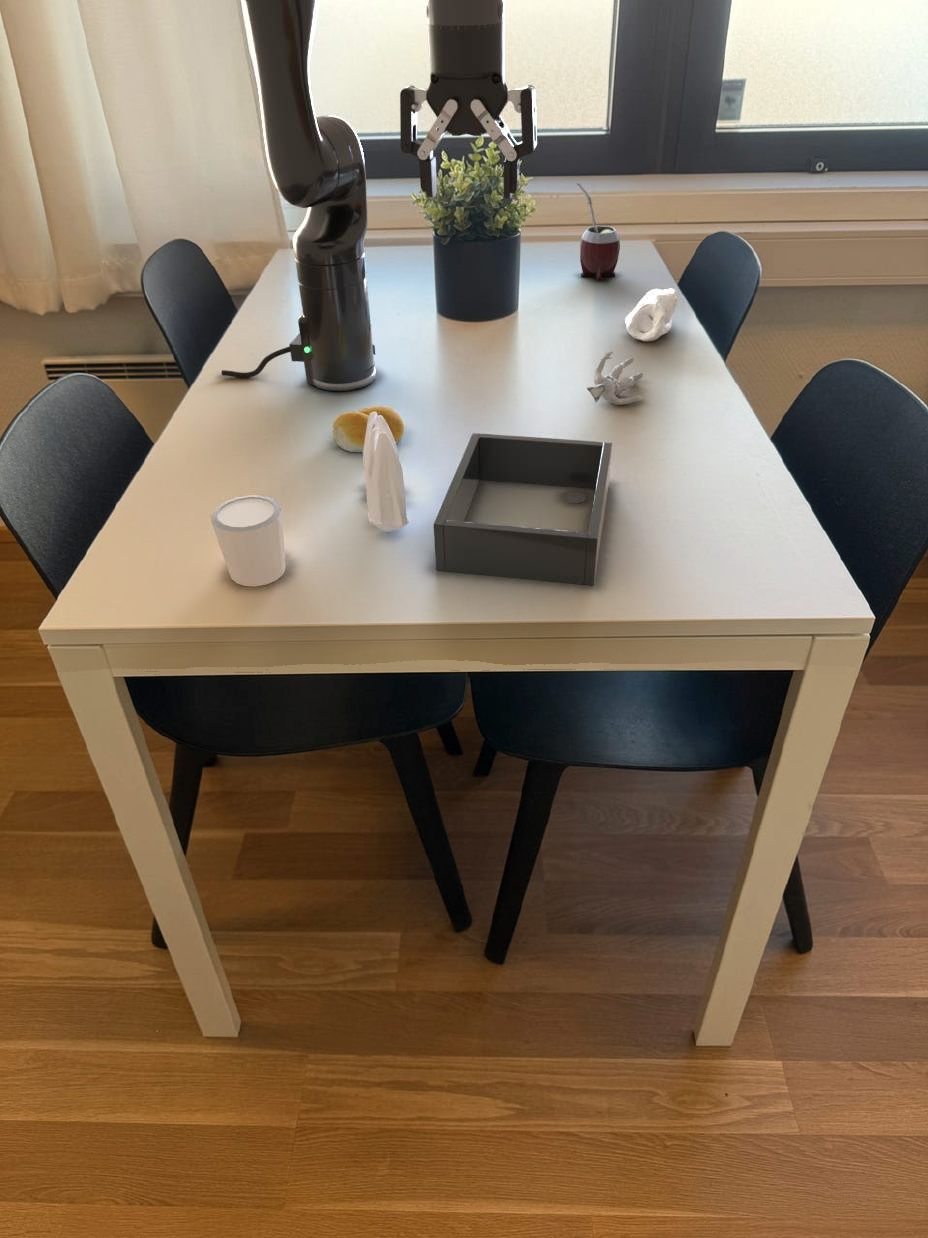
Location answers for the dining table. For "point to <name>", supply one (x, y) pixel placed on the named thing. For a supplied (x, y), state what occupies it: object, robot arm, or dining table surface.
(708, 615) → the dining table surface
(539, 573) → the grey open box
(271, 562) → the white cylinder
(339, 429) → the bread roll
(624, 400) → the soldier figure
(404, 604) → the dining table surface
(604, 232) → the mate gourd
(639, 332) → the white irregular lump
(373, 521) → the shaker set
